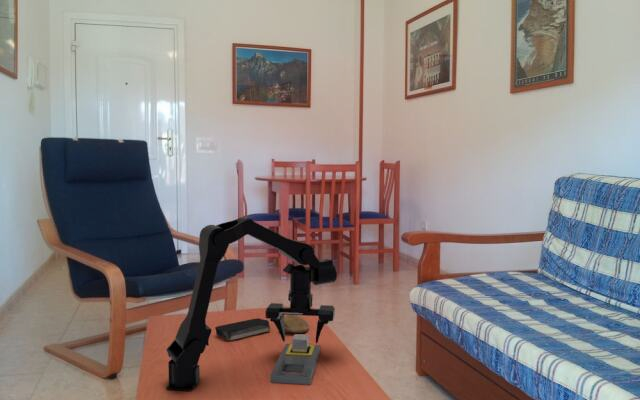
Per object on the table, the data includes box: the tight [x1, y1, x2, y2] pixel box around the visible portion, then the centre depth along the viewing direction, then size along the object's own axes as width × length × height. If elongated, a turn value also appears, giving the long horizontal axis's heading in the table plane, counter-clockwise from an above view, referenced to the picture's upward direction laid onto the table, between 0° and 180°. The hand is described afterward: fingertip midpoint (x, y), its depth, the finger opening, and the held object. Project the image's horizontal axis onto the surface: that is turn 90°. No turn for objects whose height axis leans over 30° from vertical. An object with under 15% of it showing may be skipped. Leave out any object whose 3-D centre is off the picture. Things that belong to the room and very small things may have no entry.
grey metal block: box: [291, 333, 310, 353], centre depth 145 cm, size 4×4×6 cm
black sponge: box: [214, 317, 271, 341], centre depth 163 cm, size 16×8×4 cm, turn 127°
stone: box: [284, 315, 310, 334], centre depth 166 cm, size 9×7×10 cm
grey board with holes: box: [269, 343, 321, 386], centre depth 139 cm, size 10×21×2 cm, turn 173°
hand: (300, 341), depth 145 cm, fingers open, 9 cm apart
